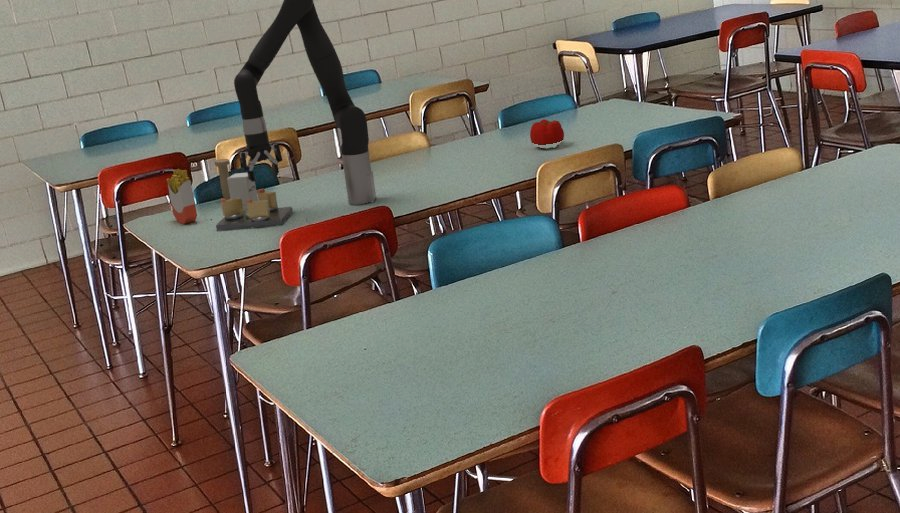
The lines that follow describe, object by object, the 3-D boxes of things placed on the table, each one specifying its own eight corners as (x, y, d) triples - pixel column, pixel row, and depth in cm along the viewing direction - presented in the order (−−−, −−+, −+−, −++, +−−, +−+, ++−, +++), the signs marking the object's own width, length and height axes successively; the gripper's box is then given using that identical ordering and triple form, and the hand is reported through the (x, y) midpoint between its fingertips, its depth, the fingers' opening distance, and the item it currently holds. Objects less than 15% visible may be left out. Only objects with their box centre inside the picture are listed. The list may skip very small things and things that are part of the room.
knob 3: (272, 215, 344) (268, 195, 343) (267, 220, 339) (264, 200, 337) (253, 217, 345) (249, 197, 343) (248, 222, 339) (244, 202, 337)
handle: (225, 203, 380) (217, 163, 376) (220, 200, 386) (212, 160, 381) (237, 200, 382) (230, 160, 378) (232, 197, 388) (225, 158, 383)
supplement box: (252, 212, 362) (246, 176, 359) (232, 213, 364) (226, 178, 360) (259, 206, 369) (253, 171, 366) (240, 207, 371) (234, 173, 367)
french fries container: (186, 225, 355) (176, 173, 349) (173, 220, 363) (163, 170, 358) (198, 222, 357) (188, 170, 352) (185, 217, 366) (175, 167, 360)
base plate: (292, 212, 355) (291, 200, 354) (282, 225, 340) (280, 213, 339) (230, 218, 357) (228, 206, 356) (216, 231, 342) (214, 219, 341)
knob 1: (240, 213, 353) (237, 193, 351) (246, 216, 348) (242, 196, 346) (222, 217, 350) (218, 198, 348) (227, 220, 345) (223, 200, 343)
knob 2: (282, 207, 354) (278, 188, 352) (269, 212, 349) (265, 192, 347) (269, 206, 358) (265, 187, 356) (256, 211, 353) (252, 191, 351)
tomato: (566, 149, 403) (564, 122, 400) (532, 152, 404) (530, 126, 401) (563, 142, 416) (561, 116, 413) (530, 146, 417) (527, 120, 414)
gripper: (240, 136, 339) (250, 184, 344) (279, 127, 347) (288, 174, 351) (231, 134, 345) (240, 182, 350) (269, 125, 353) (278, 172, 357)
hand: (264, 178), depth 351 cm, fingers open, 8 cm apart
